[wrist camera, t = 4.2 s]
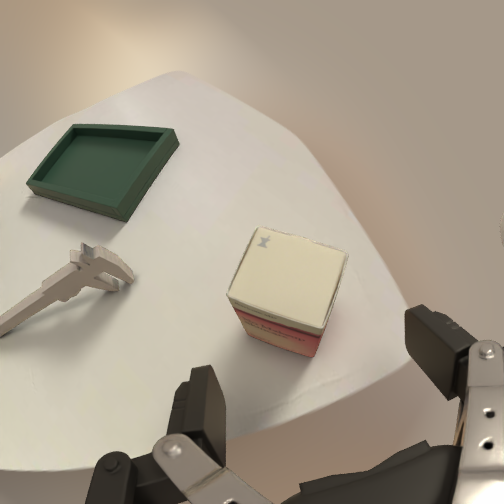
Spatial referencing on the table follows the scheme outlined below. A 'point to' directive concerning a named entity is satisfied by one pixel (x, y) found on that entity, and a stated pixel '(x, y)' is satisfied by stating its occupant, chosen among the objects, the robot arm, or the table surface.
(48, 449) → the table surface
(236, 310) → the small box
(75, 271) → the caliper
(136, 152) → the tray
